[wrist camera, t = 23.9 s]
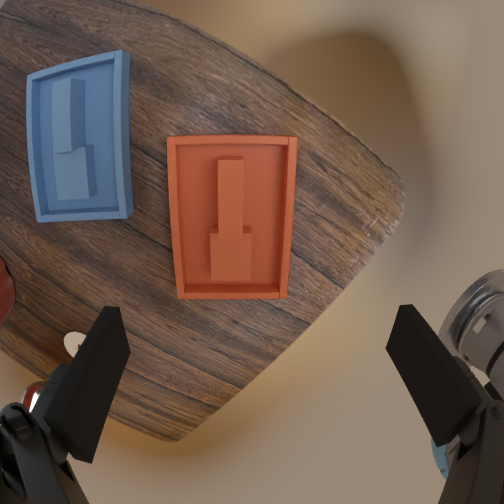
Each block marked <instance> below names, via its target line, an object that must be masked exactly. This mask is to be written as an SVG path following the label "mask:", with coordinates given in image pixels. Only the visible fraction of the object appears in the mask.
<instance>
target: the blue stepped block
mask: <svg viewBox="0 0 504 504" xmlns="http://www.w3.org/2000/svg"><path fill="white" fill-rule="evenodd" d="M52 124H53V147H54V152H53V157H54V169H55V178H56V187H57V195H58V201H64V200H76V199H89V198H91V197H93V196H94V195H96V194H97V186H96V175H95V163H94V146H93V145H87V146H86V135H85V80H80V79H75V78H67V79H63V80H60V81H56V82H53V91H52Z"/></svg>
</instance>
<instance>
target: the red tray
mask: <svg viewBox="0 0 504 504" xmlns="http://www.w3.org/2000/svg"><path fill="white" fill-rule="evenodd" d="M220 156H243V158H244V187H243V226H251V230H252V256H251V281H212V280H211V258H210V230H211V226H218V159H219V157H220ZM296 159H297V137H295V136H284V135H256V134H209V135H180V136H170V137H167V165H168V189H169V206H170V221H171V235H172V247H173V258H174V268H175V277H176V287H177V295H178V299H279V298H280V299H284V298H287V288H288V277H289V265H290V253H291V240H292V226H293V211H294V195H295V178H296Z"/></svg>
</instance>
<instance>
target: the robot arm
mask: <svg viewBox="0 0 504 504" xmlns="http://www.w3.org/2000/svg"><path fill="white" fill-rule="evenodd" d="M386 350H387V352H388V354H389V356H390V357H391V359H392V361H393V363H394V364H395V366H396V368H397V370H398V372H399V374H400V375H401V377H402V379H403V381H404V383H405V385H406V387H407V388H408V391H409V393H410V394H411V396H412V398H413V400H414V402H415V404H416V406H417V408H418V410H419V412H420V414H421V416H422V418H423V420H424V422H425V424H426V426H427V428H428V430H429V432H430V434H431V436H432V438H431V445H432V451H433V455H434V459H435V462H436V465H437V467H438V469H440V472H441V474H442V476H443V477H444V478H445V479H446V483H445V486H444V489H443V492H442V494H441V497H440V500H439V503H438V504H504V293H498V294H495V295H493V296H491V297H489V298H488V299H486V300H485V301H484V302H483V303H481V304H480V305H479V306H478V307H477V308H476V310H475V311H474V312H473V313H472V314H471V316H470V317H469V318H468V320H467V321H466V323H465V324H464V326H463V328H462V330H461V332H460V335H459V337H458V341H457V352H458V354H459V355H460V356H461V358H462V359H463V360H464V361H466V362H467V363H469V364H471V365H472V366H474V367H476V368H478V369H479V370H481V371H483V372H484V373H485V374H486V375H487V376H488V378H489V379H490V381H489V382H488V383H487V384H486V385H485V386H484V387H483V386H482V385H481V384H480V382H479V381H478V379H477V378H475V375H474V374H473V372H471V371H470V368H469V367H468V365H467V364H466V363H465V362H464V361H463V360H462V359H460V358H459V357H458V356H457V355H456V356H452V355H451V353H450V352H449V351H448V349H447V348H446V347H445V345H444V344H443V343H442V341H441V340H440V339H439V337H438V336H437V335H436V333H435V332H434V331H433V330H432V328H431V327H430V326H429V324H428V323H427V322H426V321H425V319H424V318H423V317H422V316H421V315H420V313H419V312H418V311H417V309H416V308H415V307H414V306H413V305H412V304H410V305H400V306H399V310H398V313H397V316H396V319H395V322H394V325H393V329H392V331H391V334H390V338H389V340H388V343H387V346H386ZM130 353H131V351H130V348H129V344H128V340H127V337H126V333H125V329H124V325H123V321H122V317H121V313H120V308H119V307H112V306H104V308H103V309H102V311H101V313H100V314H99V316H98V317H97V319H96V321H95V322H94V324H93V326H92V327H91V329H90V330H89V332H88V334H87V336H86V337H85V339H84V341H83V342H82V344H81V346H80V347H79V349H78V351H77V353H76V354H75V356H74V358H73V360H72V362H71V363H70V365H63V364H61V365H60V366H58V367H57V368H56V369H55V370H54V371H53V372H52V373H51V375H50V377H49V379H48V380H47V383H46V384H45V386H44V388H43V390H42V391H41V393H40V395H39V397H38V399H37V401H36V402H35V404H34V406H33V408H32V410H31V412H29V410H28V409H27V407H26V406H24V405H23V404H22V403H17V402H15V403H10V404H8V405H6V406H5V407H4V408H3V409H2V410H1V412H0V424H1V425H2V426H0V504H89V502H88V500H87V498H86V497H85V495H84V493H83V491H82V489H81V487H80V485H79V483H78V481H77V479H76V477H75V475H74V473H73V470H72V468H71V466H70V464H69V462H68V460H67V459H66V457H67V455H68V452H69V453H70V454H71V455H72V457H73V458H74V459H76V460H80V461H84V462H87V463H91V464H92V461H93V458H94V455H95V451H96V448H97V445H98V442H99V439H100V436H101V433H102V430H103V427H104V424H105V420H106V418H107V415H108V412H109V409H110V406H111V403H112V401H113V398H114V395H115V392H116V390H117V387H118V384H119V381H120V379H121V376H122V374H123V371H124V368H125V366H126V363H127V361H128V358H129V355H130ZM488 393H489V394H488ZM490 396H491V397H490Z"/></svg>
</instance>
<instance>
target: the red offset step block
mask: <svg viewBox="0 0 504 504" xmlns="http://www.w3.org/2000/svg"><path fill="white" fill-rule="evenodd" d="M243 187H244V158H243V156H220V157H219V159H218V226H211V230H210V258H211V280H212V281H251V256H252V230H251V226H243Z"/></svg>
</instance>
